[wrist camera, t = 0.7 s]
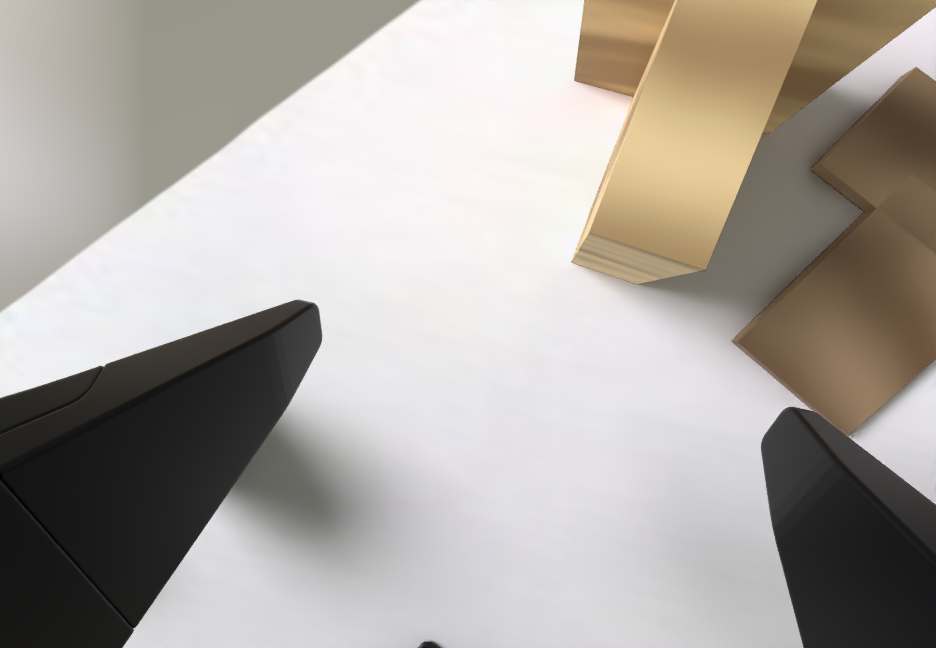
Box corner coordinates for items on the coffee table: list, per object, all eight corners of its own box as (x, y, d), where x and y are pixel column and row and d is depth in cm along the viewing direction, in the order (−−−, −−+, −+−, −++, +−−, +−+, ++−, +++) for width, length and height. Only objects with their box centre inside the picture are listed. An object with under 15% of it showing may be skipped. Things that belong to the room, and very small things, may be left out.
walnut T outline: (890, 476, 21) (903, 483, 20) (682, 299, 22) (687, 299, 22) (1148, 258, 19) (1174, 256, 18) (901, 76, 20) (916, 66, 19)
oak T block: (697, 304, 22) (817, 306, 12) (515, 243, 24) (493, 201, 14) (793, 73, 21) (1011, -129, 11) (594, 23, 23) (632, -194, 13)
